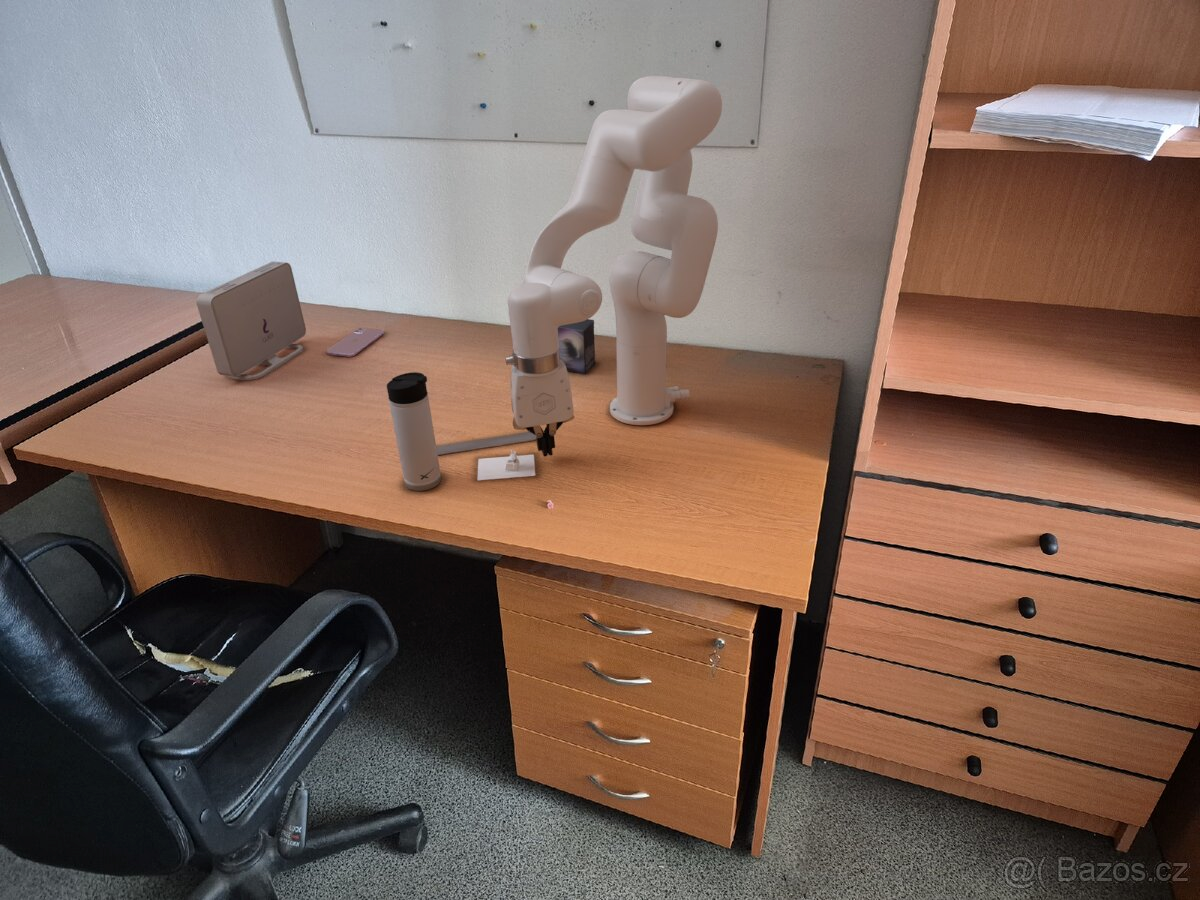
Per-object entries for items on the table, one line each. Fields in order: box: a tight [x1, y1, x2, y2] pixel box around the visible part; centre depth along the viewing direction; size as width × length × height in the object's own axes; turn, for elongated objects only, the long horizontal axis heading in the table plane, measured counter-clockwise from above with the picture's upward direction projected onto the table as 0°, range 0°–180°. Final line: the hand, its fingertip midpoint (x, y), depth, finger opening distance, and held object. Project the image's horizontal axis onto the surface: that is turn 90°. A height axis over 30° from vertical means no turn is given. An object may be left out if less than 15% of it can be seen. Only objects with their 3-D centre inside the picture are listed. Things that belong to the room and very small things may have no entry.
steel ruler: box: [436, 431, 537, 456], centre depth 145 cm, size 20×3×1 cm, turn 105°
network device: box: [196, 261, 307, 381], centre depth 175 cm, size 26×9×20 cm, turn 161°
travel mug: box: [386, 371, 442, 492], centre depth 130 cm, size 6×7×20 cm
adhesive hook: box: [504, 449, 521, 471], centre depth 137 cm, size 3×3×3 cm
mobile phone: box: [325, 327, 385, 358], centre depth 187 cm, size 8×1×15 cm
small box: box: [557, 318, 596, 375], centre depth 171 cm, size 11×6×10 cm, turn 68°
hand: (546, 451), depth 139 cm, fingers closed
